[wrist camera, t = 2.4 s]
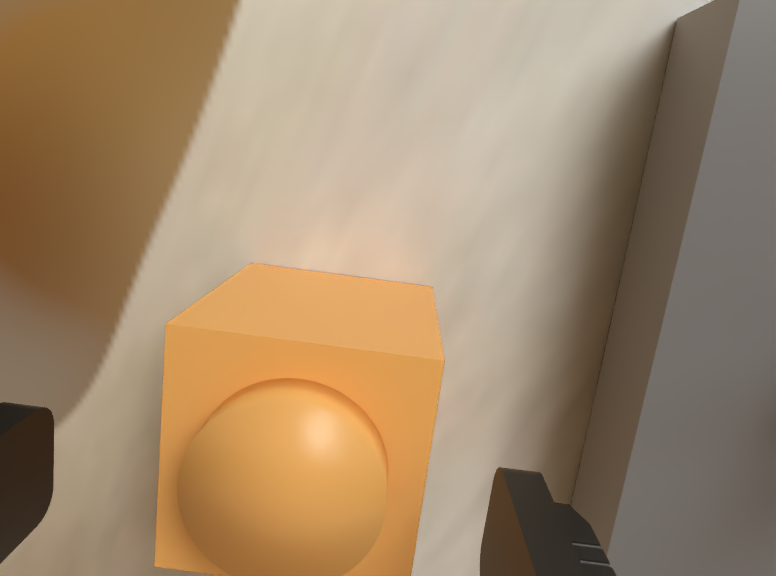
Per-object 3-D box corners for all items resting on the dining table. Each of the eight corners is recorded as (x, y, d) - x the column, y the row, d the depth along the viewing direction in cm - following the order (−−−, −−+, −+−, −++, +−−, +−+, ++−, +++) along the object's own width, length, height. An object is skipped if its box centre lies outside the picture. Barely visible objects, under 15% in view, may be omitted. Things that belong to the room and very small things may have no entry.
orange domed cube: (251, 262, 17) (141, 341, 10) (432, 286, 17) (448, 381, 10) (238, 429, 18) (131, 603, 11) (407, 452, 18) (406, 640, 11)
